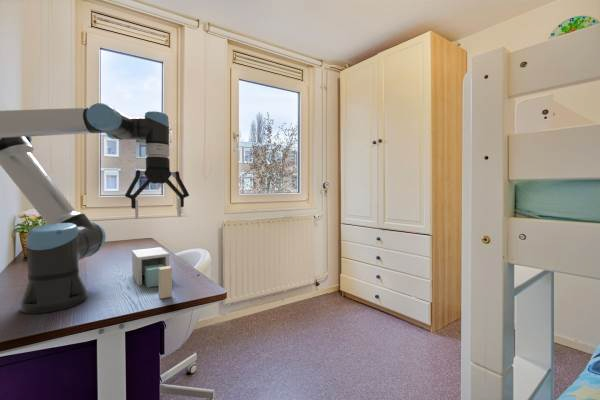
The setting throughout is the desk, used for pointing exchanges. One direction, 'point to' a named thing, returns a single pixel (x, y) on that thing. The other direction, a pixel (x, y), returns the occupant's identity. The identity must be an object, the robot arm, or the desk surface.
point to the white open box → (147, 261)
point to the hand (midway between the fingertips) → (158, 217)
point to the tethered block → (159, 279)
